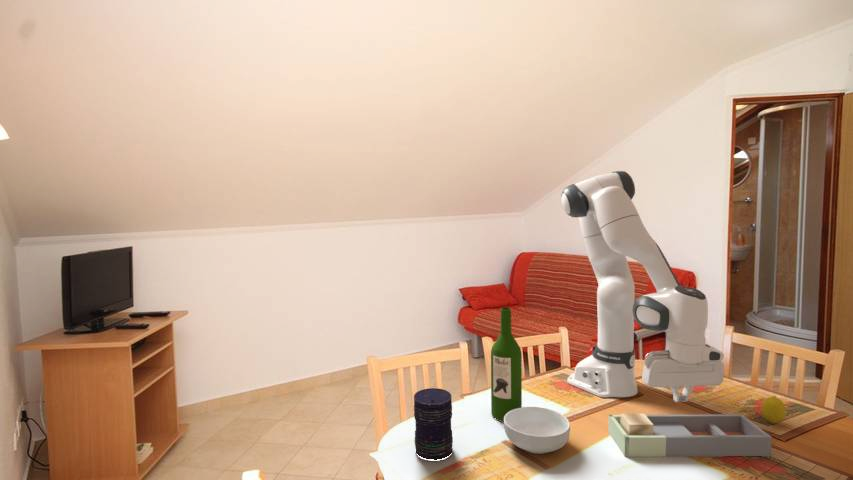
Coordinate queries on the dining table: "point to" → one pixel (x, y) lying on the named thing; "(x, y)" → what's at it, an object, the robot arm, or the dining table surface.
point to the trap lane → (694, 437)
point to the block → (636, 424)
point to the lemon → (773, 409)
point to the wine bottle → (505, 370)
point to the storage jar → (433, 423)
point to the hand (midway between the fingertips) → (680, 400)
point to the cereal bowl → (536, 429)
